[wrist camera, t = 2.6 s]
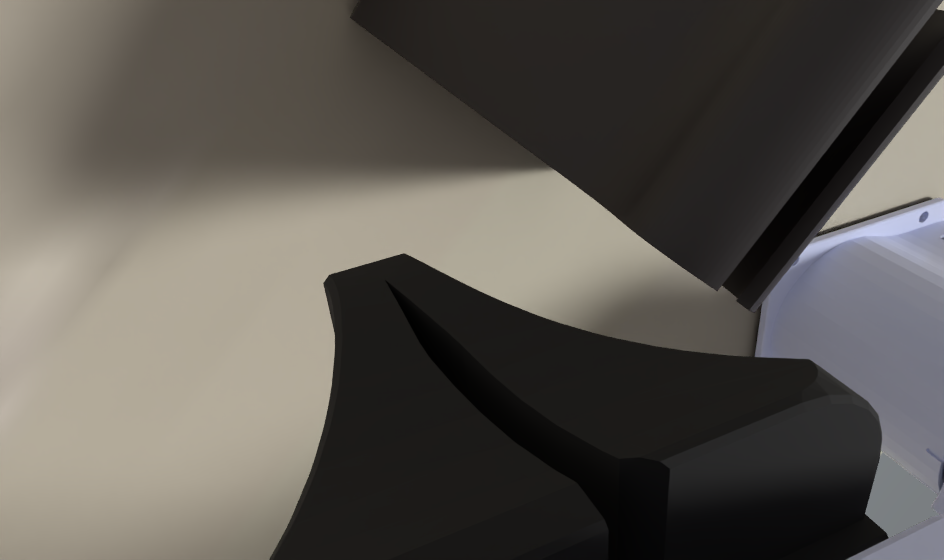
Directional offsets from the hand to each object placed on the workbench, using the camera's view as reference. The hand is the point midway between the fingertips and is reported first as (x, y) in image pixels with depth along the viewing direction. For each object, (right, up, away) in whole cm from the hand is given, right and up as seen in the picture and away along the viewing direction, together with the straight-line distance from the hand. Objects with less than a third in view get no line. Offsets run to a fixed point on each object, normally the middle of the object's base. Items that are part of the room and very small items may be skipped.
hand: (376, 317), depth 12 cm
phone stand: (+3, +8, +10) cm, 13 cm away
